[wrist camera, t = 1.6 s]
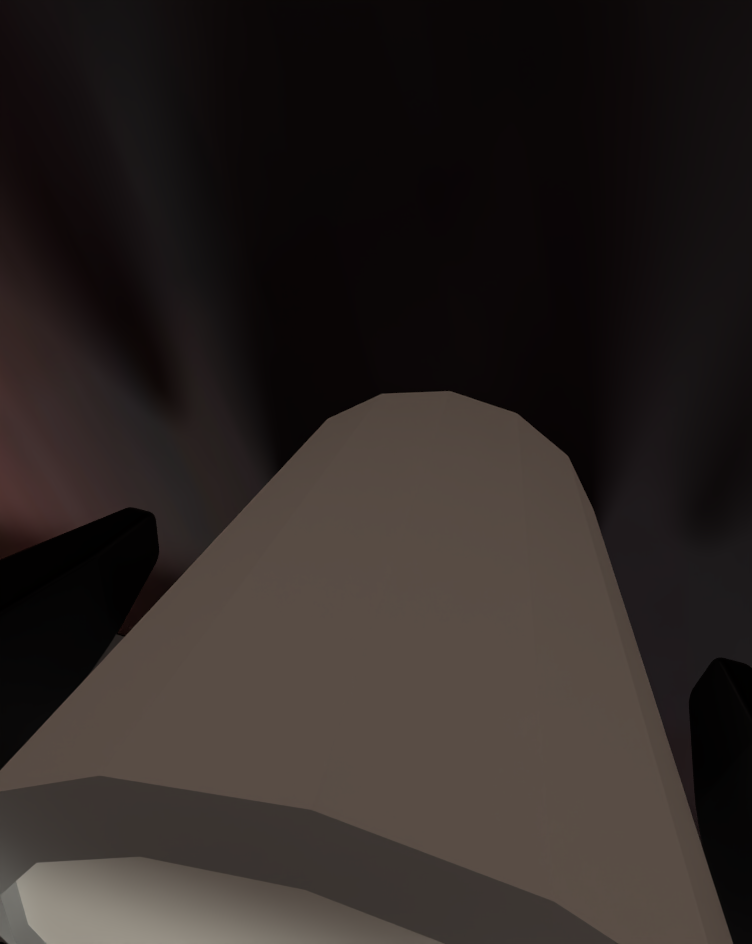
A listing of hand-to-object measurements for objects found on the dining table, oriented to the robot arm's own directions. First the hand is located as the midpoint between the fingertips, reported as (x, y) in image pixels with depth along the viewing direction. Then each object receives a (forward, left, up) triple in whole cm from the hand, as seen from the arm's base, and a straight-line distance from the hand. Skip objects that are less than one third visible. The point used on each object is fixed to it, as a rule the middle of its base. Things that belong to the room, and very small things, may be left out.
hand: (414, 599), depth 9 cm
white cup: (0, 0, -2) cm, 2 cm away
